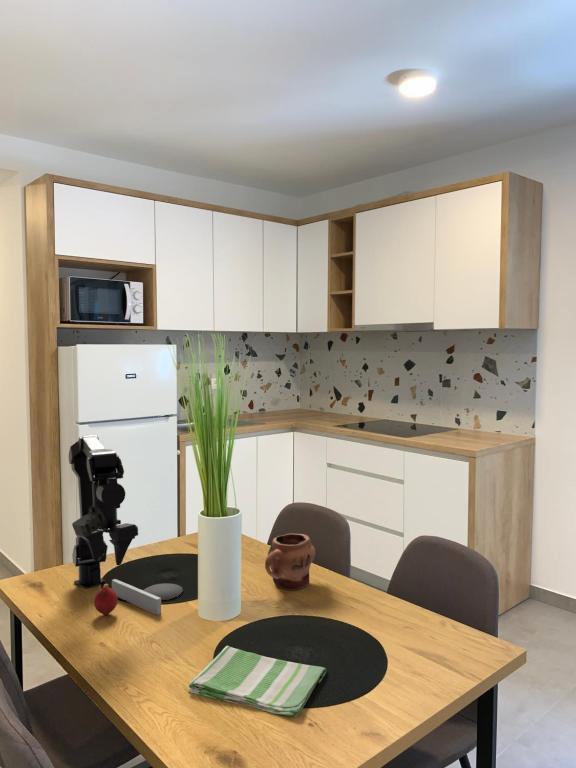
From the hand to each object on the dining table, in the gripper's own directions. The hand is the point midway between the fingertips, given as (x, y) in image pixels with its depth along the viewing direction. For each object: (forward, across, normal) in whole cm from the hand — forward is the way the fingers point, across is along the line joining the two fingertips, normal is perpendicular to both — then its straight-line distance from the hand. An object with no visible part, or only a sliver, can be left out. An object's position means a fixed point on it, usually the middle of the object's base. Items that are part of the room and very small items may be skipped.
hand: (107, 562), depth 154 cm
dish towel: (+18, +49, -1) cm, 53 cm away
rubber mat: (+13, 0, +18) cm, 22 cm away
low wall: (+13, -1, +9) cm, 16 cm away
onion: (+14, -1, 0) cm, 14 cm away
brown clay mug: (+14, +25, +43) cm, 51 cm away
